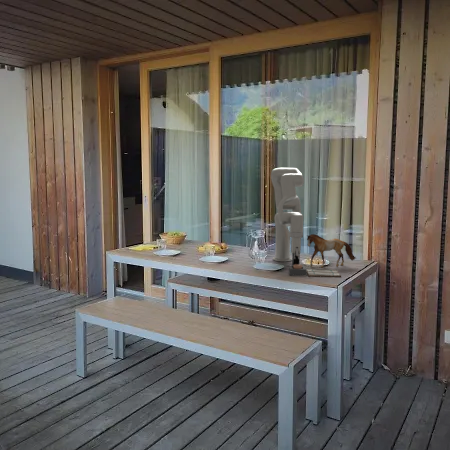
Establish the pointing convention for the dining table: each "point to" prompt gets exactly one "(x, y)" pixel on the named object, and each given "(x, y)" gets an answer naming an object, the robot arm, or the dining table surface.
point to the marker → (293, 259)
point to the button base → (297, 271)
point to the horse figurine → (329, 247)
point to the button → (297, 266)
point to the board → (322, 273)
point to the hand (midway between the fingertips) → (295, 264)
